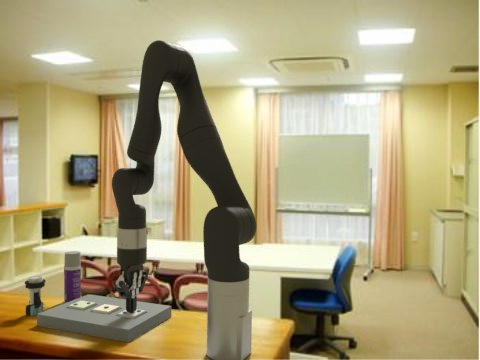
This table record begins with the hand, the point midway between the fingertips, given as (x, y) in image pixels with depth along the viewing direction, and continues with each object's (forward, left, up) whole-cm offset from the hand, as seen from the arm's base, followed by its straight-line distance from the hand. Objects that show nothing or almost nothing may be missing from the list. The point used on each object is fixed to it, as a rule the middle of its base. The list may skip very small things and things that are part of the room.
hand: (131, 311), depth 122 cm
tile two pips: (+16, 0, -3) cm, 16 cm away
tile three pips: (0, 0, -3) cm, 3 cm away
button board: (+8, 0, -4) cm, 9 cm away
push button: (+30, +2, -4) cm, 30 cm away
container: (+28, -10, -4) cm, 30 cm away
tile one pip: (+8, 0, -3) cm, 8 cm away
